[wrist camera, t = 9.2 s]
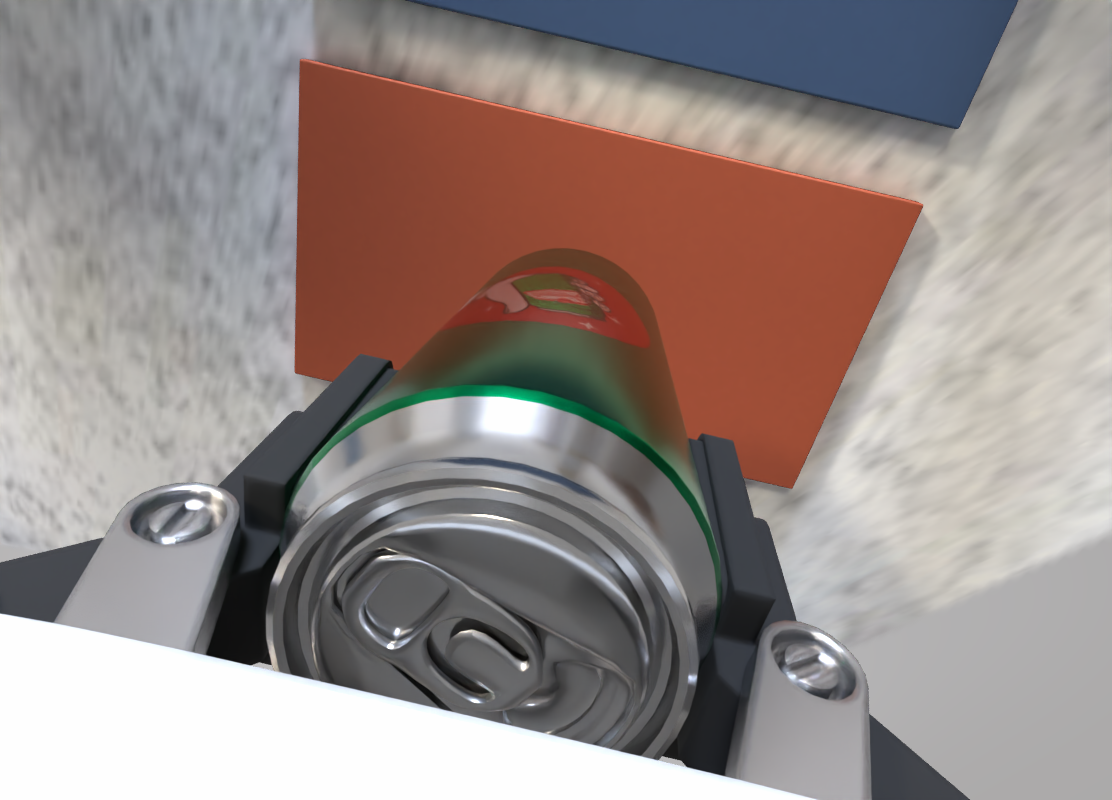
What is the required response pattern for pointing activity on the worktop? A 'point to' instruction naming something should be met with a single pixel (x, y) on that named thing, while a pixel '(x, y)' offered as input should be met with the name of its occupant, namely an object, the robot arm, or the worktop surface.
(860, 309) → the terracotta mat
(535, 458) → the soda can
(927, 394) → the worktop surface
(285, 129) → the worktop surface
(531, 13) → the slate-blue mat
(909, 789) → the robot arm
